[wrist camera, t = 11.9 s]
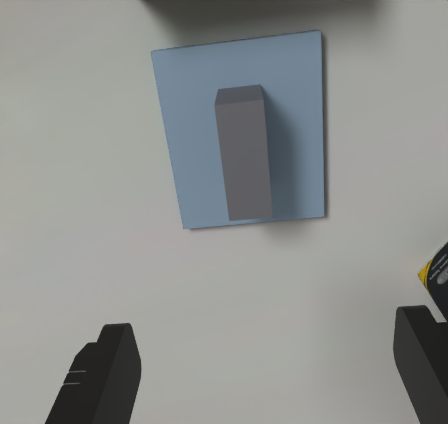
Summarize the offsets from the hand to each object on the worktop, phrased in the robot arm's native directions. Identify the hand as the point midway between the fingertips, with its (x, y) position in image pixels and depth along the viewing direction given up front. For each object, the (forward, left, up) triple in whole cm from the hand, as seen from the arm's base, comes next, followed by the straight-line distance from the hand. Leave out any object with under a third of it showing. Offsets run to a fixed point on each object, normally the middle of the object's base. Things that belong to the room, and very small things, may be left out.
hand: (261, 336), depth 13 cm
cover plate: (0, 0, -23) cm, 23 cm away
